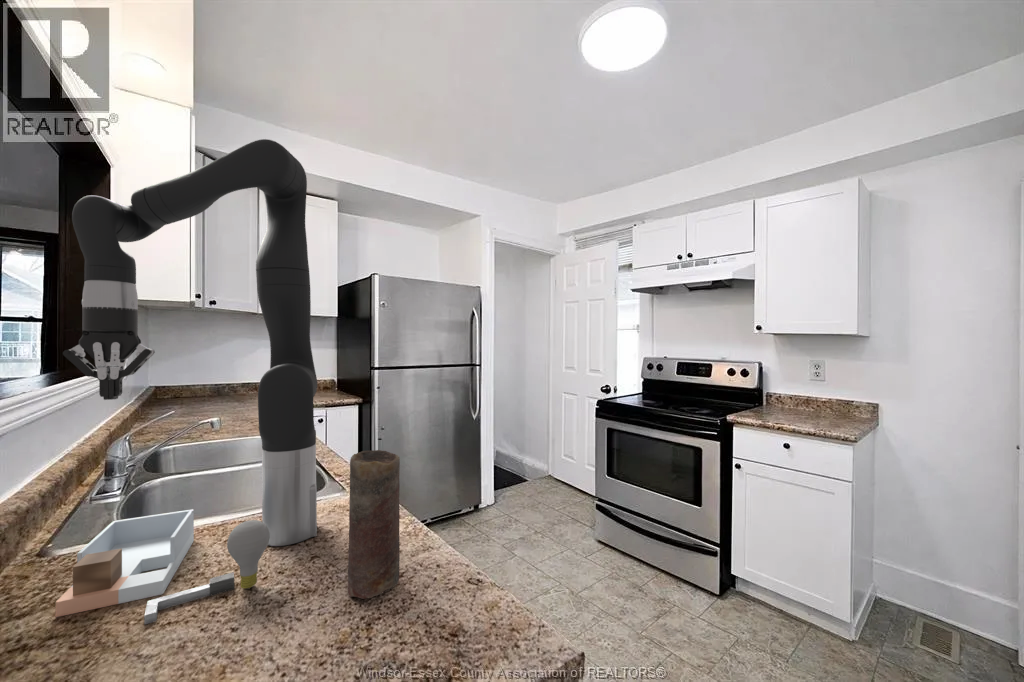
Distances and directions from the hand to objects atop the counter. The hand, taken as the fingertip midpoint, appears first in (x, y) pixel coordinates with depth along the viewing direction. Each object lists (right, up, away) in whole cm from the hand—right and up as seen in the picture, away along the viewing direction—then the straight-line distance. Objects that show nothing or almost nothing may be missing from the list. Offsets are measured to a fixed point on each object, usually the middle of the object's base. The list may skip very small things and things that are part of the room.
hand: (110, 399), depth 78 cm
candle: (+55, -26, -16) cm, 63 cm away
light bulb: (+36, -27, -15) cm, 47 cm away
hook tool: (+30, -26, -19) cm, 44 cm away
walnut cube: (+15, -25, -18) cm, 34 cm away
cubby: (+15, -27, -11) cm, 32 cm away
